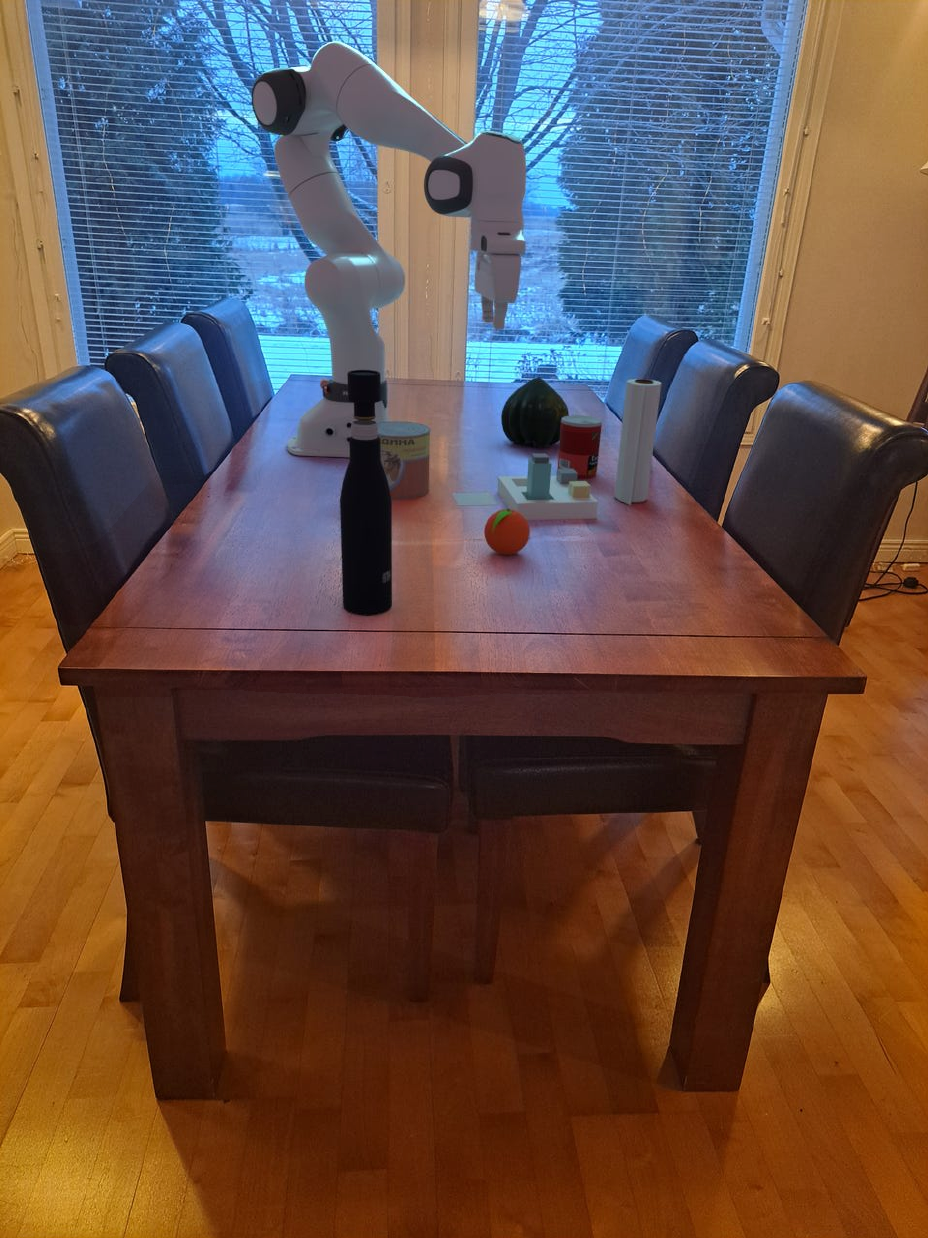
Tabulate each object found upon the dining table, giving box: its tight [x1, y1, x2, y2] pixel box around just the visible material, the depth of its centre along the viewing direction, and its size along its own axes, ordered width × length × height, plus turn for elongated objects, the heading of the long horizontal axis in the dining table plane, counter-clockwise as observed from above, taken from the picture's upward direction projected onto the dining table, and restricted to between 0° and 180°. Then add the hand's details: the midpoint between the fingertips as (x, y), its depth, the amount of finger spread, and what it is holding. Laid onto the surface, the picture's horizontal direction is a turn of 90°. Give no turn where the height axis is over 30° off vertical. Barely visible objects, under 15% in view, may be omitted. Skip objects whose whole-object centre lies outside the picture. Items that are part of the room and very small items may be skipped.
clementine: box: [483, 508, 531, 556], centre depth 133 cm, size 8×7×7 cm
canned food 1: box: [377, 420, 431, 501], centre depth 159 cm, size 11×11×12 cm
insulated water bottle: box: [339, 370, 393, 616], centre depth 110 cm, size 6×6×30 cm
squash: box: [500, 376, 570, 449], centre depth 196 cm, size 14×15×15 cm
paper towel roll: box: [614, 378, 662, 506], centre depth 158 cm, size 7×6×21 cm
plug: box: [526, 453, 552, 500], centre depth 150 cm, size 3×3×10 cm
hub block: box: [496, 468, 599, 521], centre depth 155 cm, size 14×16×6 cm
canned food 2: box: [556, 414, 603, 480], centre depth 175 cm, size 8×8×11 cm
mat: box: [451, 492, 498, 507], centre depth 158 cm, size 7×7×1 cm
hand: (492, 325), depth 155 cm, fingers open, 8 cm apart
